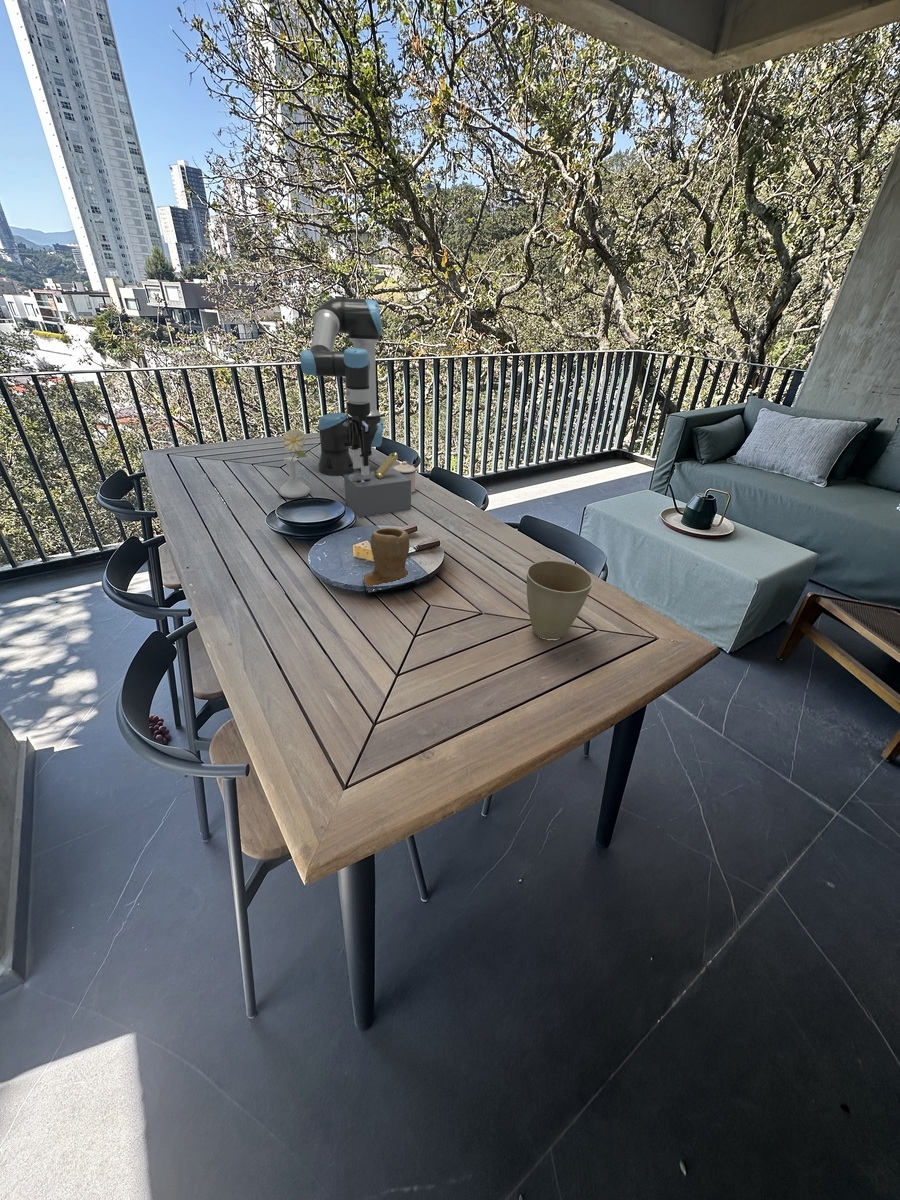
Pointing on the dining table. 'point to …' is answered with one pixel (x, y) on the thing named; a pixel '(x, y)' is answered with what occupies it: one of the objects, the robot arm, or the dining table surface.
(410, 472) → the teacup with lid
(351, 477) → the steel pin
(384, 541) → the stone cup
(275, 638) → the dining table surface
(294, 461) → the flower in vase
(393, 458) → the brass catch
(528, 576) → the plant pot
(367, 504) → the post block
